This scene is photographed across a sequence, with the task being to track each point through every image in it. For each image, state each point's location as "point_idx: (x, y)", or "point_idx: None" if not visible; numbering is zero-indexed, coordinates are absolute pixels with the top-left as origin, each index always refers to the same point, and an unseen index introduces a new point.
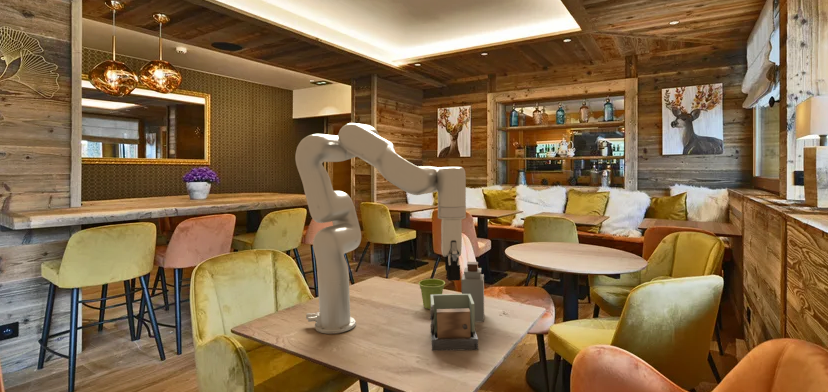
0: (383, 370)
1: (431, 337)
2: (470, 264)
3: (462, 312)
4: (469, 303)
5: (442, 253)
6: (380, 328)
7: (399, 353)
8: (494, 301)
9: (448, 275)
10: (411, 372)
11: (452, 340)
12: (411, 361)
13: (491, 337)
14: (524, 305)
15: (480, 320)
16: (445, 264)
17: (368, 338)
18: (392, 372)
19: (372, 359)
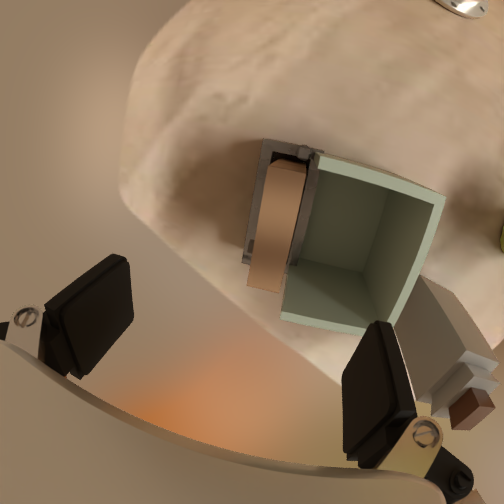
0: (194, 28)
1: (280, 141)
2: (470, 413)
3: (251, 260)
4: (343, 312)
5: (9, 370)
6: (433, 52)
7: (270, 58)
8: None
9: (95, 270)
10: (173, 81)
11: (253, 196)
12: (221, 82)
13: None
14: None
15: None
16: (385, 351)
17: (375, 10)
18: (182, 45)
19: (251, 5)
